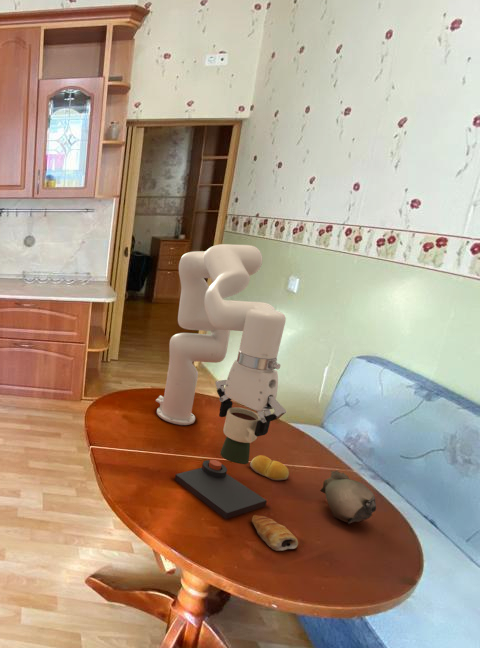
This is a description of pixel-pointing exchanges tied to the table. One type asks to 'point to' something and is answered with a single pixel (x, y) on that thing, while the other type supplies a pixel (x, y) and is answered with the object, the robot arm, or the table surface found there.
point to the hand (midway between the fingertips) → (241, 425)
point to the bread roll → (269, 468)
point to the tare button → (215, 464)
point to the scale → (220, 491)
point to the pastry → (274, 533)
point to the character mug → (239, 434)
